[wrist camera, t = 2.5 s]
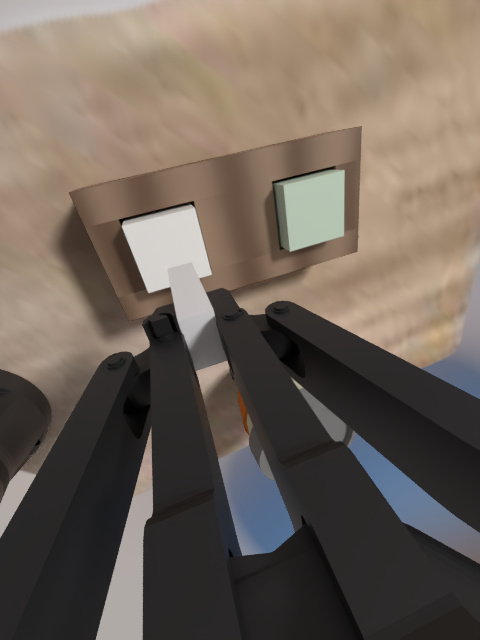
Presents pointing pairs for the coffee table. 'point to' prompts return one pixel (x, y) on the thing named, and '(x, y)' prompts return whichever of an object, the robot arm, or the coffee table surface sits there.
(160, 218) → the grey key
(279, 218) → the sage key
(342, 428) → the reusable coffee cup
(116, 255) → the key panel
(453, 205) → the coffee table surface
